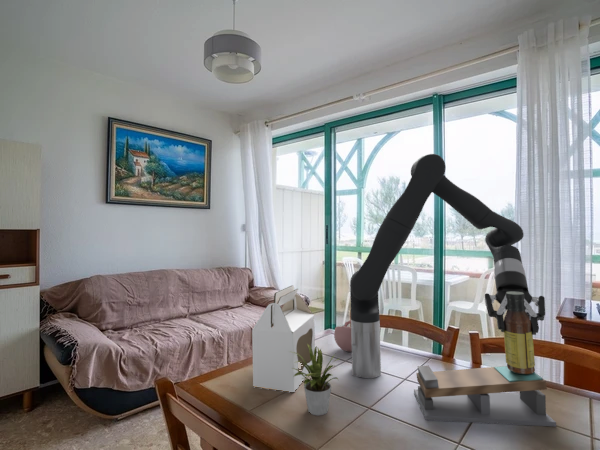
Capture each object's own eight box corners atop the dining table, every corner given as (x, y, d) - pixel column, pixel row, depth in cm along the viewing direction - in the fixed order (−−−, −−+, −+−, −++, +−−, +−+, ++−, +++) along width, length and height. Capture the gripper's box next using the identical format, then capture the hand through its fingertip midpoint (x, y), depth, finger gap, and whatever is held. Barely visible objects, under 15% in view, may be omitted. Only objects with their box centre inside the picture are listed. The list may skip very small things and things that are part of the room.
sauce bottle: (526, 365, 89) (523, 289, 89) (540, 375, 83) (537, 294, 83) (500, 365, 90) (497, 290, 90) (512, 375, 83) (509, 295, 84)
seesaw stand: (425, 420, 82) (425, 396, 82) (414, 392, 96) (413, 372, 96) (556, 426, 78) (555, 401, 78) (524, 397, 92) (523, 376, 92)
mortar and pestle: (369, 347, 134) (368, 318, 134) (361, 358, 123) (360, 326, 123) (339, 344, 139) (339, 316, 139) (330, 354, 128) (329, 323, 128)
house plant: (279, 401, 93) (278, 341, 93) (324, 391, 98) (323, 334, 98) (300, 429, 79) (299, 358, 80) (351, 415, 85) (349, 349, 85)
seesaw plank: (425, 397, 84) (423, 381, 84) (417, 380, 94) (415, 365, 94) (547, 389, 81) (544, 372, 81) (524, 372, 90) (522, 357, 91)
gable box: (293, 393, 97) (291, 295, 98) (252, 388, 101) (250, 294, 102) (315, 364, 118) (313, 284, 119) (280, 361, 122) (279, 283, 123)
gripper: (481, 269, 97) (486, 321, 86) (542, 270, 90) (555, 326, 79) (481, 285, 101) (485, 336, 90) (539, 287, 95) (551, 342, 84)
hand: (518, 331), depth 85 cm, fingers closed on sauce bottle, 6 cm apart
